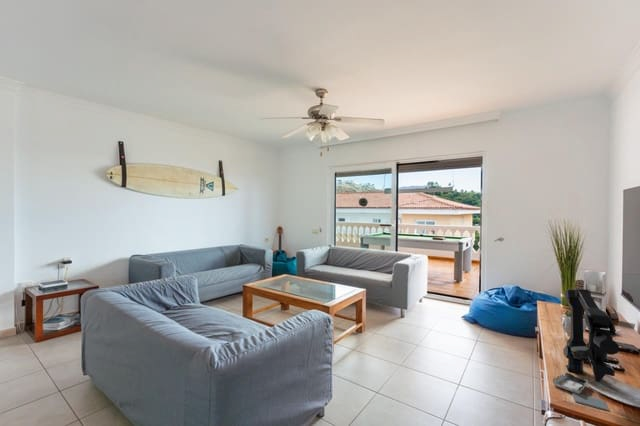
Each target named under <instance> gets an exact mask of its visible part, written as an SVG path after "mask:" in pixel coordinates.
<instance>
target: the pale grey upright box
mask: <svg viewBox="0 0 640 426" xmlns="http://www.w3.org/2000/svg"><path fill="white" fill-rule="evenodd" d="M583 289H586V290H589V291H590V292H591V296H592V298H593V300H594V301H595V303H596V305H597V306H598V308H599V309H600V310H602V311H604V312H605V313H606V314H607V312H606V311H607V310H606V308H607V305H606V303H607V272H604V271H596V270H587V269H586V270H585V271H583ZM584 315H586V313H585V314H584Z"/></svg>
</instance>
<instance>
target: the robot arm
mask: <svg viewBox="0 0 640 426" xmlns="http://www.w3.org/2000/svg"><path fill="white" fill-rule="evenodd" d="M564 298H565V302H566V303H567V304H568V306H569V307H570V337H569V339H568V340H567V341H566V345H565V346H564V348H563V351H562V352H563V356H564V357H565V358H566V359H567V364H566V365H565V367H566V369H567V372H568V373H574V374H578V375H582V376H586V371H585V370H584V362H587V363H588V365H589V368H591V370H592V372H593V376H594V381H595V382H597V383H600V382H601V381H602V380H603V378H604V377H605V376H606V375H607V376H610V377H615V373H616V372H615V369H614V368H613V367H612V366H611V365H610V361H609V359H608V355H616V354H618V353H619V351H620V346H619V344H618V343H617V342H616V341H615V340H613V336H615V337H616V332H617V329H616V328H615V325H614V321H613V320H612V318H610V316H609V315H608V314H607V312H606V313H605V312H604V311H602V310H600V309H599V308H598V306H597V305H596V303H595V301H594V300H593V298H592V296H591V292H590V291H589V290H586V289H584V288H575V289H567V290H565V291H564ZM584 312H585V314H586V315H585V314H584ZM584 315H585V318H583V316H584ZM584 322H585V324H586V327H587V330H588V342H587V343H586V341H585V340H584Z"/></svg>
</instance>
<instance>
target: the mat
mask: <svg viewBox="0 0 640 426" xmlns="http://www.w3.org/2000/svg"><path fill="white" fill-rule="evenodd" d="M571 395H572V398H573V401H574V402H575V403H577V404H581V405H584V406H587V407H592V408H595V409H599V410H603V411H607V412H609V411H610V410H609V408H608V405H607V404H606V402H605V400H604V399H601V398H597V397H592V396H588V395H585V394H583V393H582V394H581V393H580V394H577V393H575V392H572V391H571Z"/></svg>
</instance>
